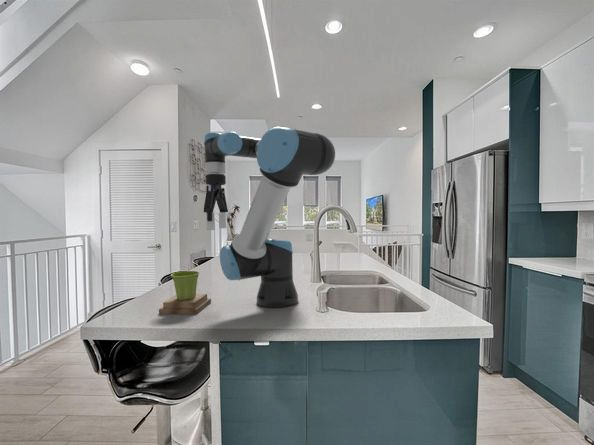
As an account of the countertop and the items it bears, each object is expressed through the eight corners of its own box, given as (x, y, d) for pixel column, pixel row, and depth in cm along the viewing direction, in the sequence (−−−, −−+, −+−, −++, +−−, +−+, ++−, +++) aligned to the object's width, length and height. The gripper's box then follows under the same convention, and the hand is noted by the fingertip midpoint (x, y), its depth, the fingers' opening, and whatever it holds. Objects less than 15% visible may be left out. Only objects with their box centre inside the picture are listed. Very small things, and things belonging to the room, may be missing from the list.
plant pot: (191, 302, 105) (190, 276, 105) (166, 301, 107) (165, 275, 107) (205, 295, 114) (204, 271, 114) (181, 294, 116) (180, 270, 116)
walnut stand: (211, 302, 117) (210, 293, 116) (196, 314, 104) (196, 303, 104) (177, 302, 118) (176, 293, 118) (158, 313, 105) (158, 303, 105)
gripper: (217, 178, 135) (218, 227, 136) (192, 170, 110) (194, 231, 111) (234, 177, 135) (235, 227, 135) (213, 169, 110) (215, 230, 110)
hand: (217, 229), depth 123 cm, fingers open, 13 cm apart
